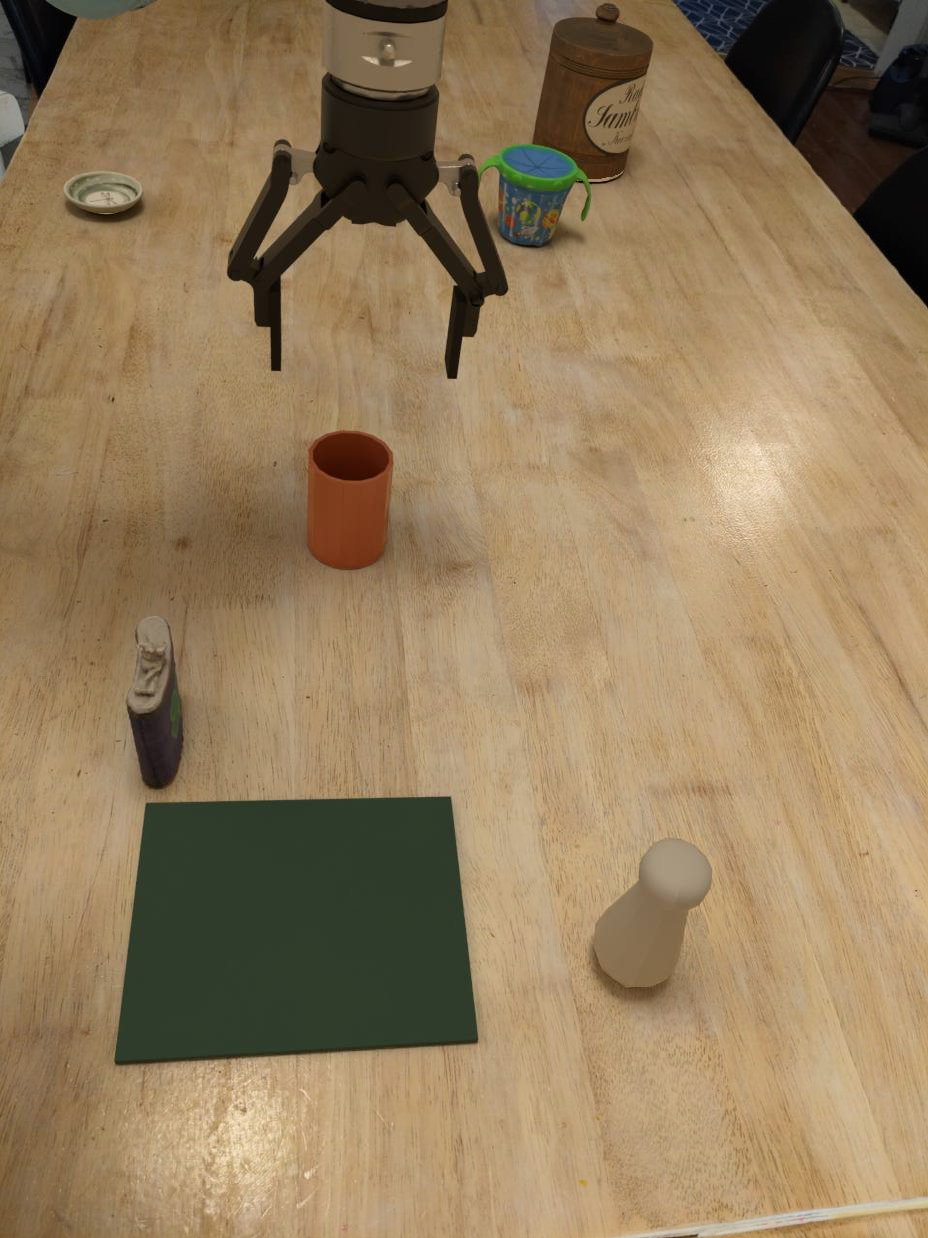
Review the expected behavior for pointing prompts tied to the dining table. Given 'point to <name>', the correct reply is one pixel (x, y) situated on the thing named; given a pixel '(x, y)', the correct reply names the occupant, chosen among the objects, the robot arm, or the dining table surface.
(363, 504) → the cup
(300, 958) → the mat
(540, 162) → the snack cup
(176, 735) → the flask
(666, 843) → the salt shaker
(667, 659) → the dining table surface
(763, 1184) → the dining table surface
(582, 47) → the wooden container
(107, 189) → the saucer
